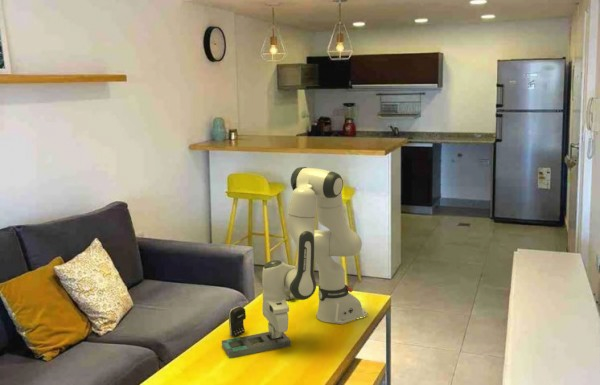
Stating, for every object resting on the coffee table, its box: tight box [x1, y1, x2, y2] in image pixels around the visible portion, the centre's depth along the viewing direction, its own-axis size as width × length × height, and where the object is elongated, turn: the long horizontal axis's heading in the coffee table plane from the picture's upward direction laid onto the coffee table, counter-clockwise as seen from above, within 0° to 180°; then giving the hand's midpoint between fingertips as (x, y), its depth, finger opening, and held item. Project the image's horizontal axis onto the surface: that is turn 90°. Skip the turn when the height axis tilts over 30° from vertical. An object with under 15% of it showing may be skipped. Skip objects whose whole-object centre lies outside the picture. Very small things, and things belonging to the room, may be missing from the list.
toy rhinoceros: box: [285, 291, 296, 301], centre depth 287 cm, size 7×12×8 cm, turn 51°
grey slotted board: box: [221, 331, 292, 359], centre depth 237 cm, size 25×11×3 cm, turn 112°
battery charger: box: [228, 305, 247, 337], centre depth 248 cm, size 7×4×11 cm, turn 140°
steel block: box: [267, 322, 282, 341], centre depth 239 cm, size 4×4×8 cm
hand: (275, 334), depth 239 cm, fingers closed on steel block, 4 cm apart
